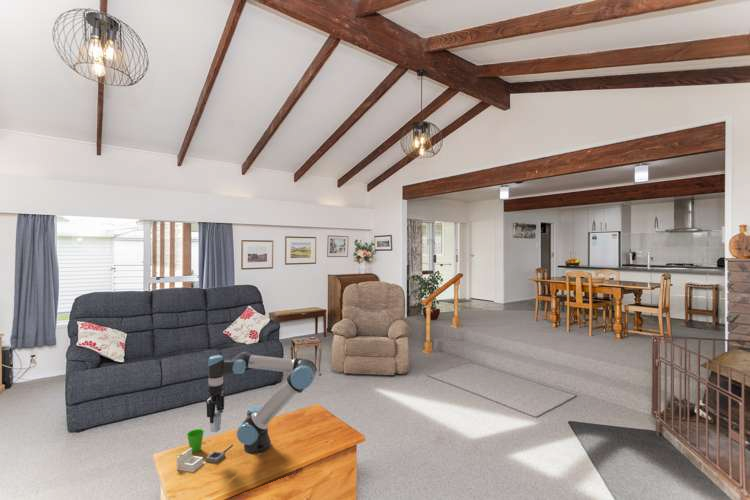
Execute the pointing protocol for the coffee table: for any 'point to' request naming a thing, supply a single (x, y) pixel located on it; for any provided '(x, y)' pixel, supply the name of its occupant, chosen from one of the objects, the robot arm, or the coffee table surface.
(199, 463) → the tray
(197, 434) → the cup
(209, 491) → the coffee table surface
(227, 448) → the cord
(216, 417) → the plug
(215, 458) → the grey square socket
